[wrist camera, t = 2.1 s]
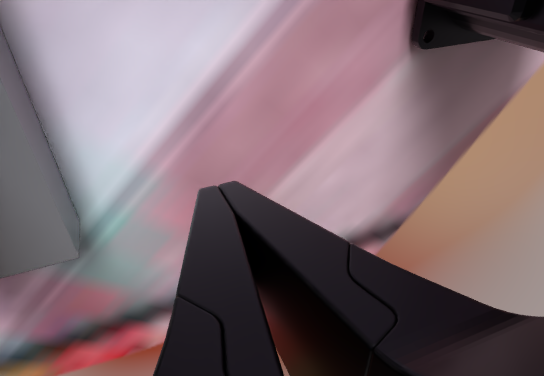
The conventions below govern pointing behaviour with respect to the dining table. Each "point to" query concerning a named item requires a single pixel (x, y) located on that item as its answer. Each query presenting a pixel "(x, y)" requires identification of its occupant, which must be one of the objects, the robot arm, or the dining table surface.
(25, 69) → the dining table surface
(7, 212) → the switch panel
